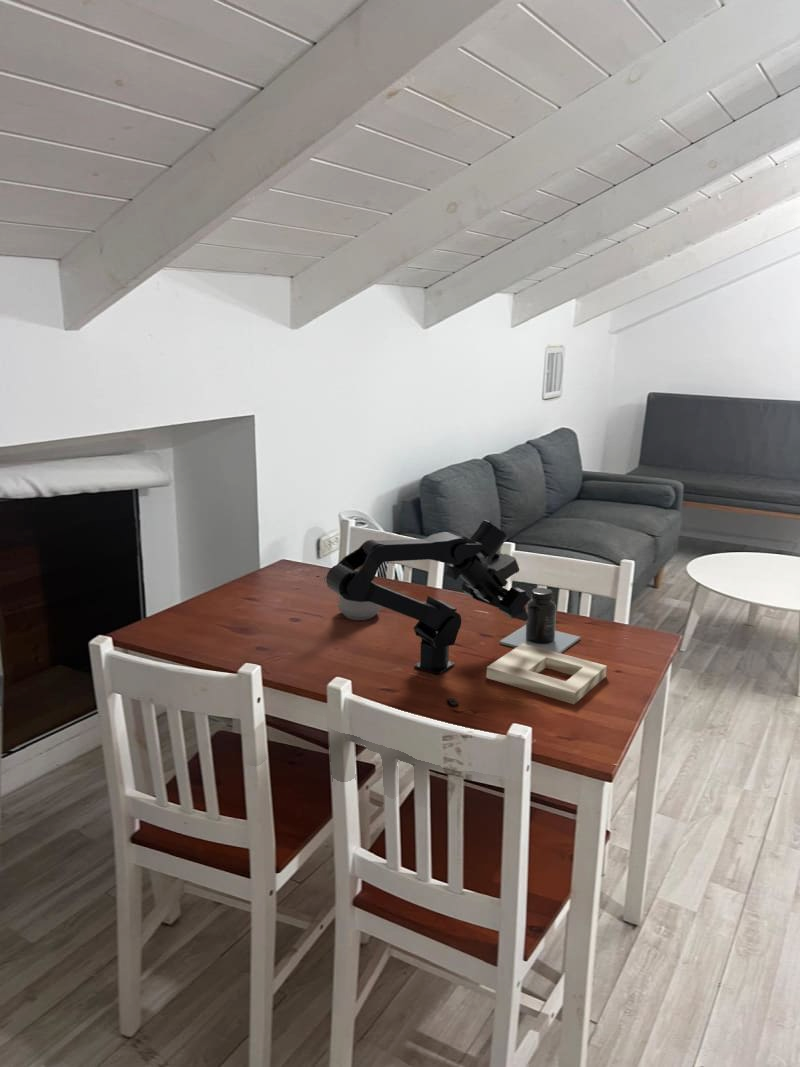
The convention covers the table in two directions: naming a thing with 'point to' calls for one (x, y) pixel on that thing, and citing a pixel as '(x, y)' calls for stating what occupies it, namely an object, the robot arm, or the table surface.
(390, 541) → the robot arm
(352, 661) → the table surface
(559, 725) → the table surface
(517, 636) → the rubber mat
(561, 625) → the table surface
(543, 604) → the supplement bottle
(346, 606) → the coffee pot
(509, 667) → the well board
